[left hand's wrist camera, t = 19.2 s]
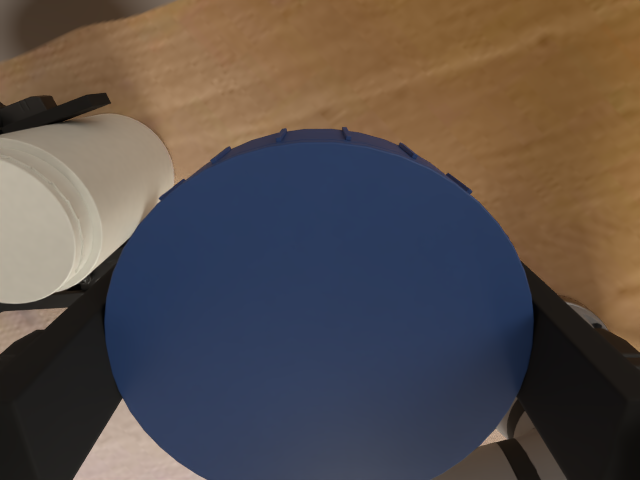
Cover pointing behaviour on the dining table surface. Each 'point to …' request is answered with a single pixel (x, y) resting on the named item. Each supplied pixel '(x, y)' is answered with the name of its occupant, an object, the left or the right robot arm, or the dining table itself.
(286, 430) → the lid
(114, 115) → the jar
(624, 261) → the dining table surface
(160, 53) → the dining table surface
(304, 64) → the dining table surface
